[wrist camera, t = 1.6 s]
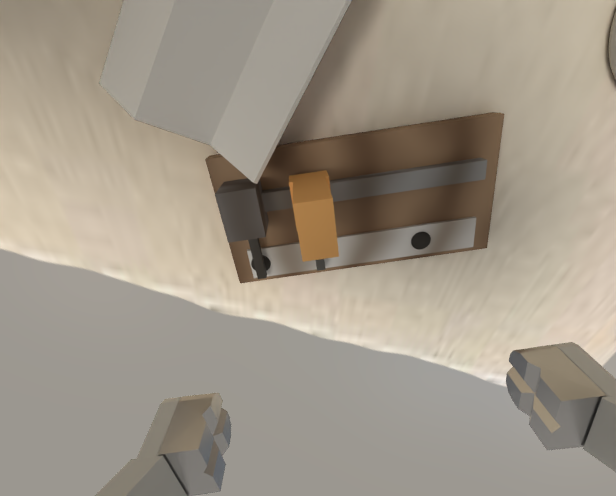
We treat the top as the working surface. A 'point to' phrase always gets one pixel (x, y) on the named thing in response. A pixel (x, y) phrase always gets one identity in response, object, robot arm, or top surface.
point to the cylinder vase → (613, 47)
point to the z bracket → (219, 68)
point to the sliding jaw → (314, 216)
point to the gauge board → (367, 196)
